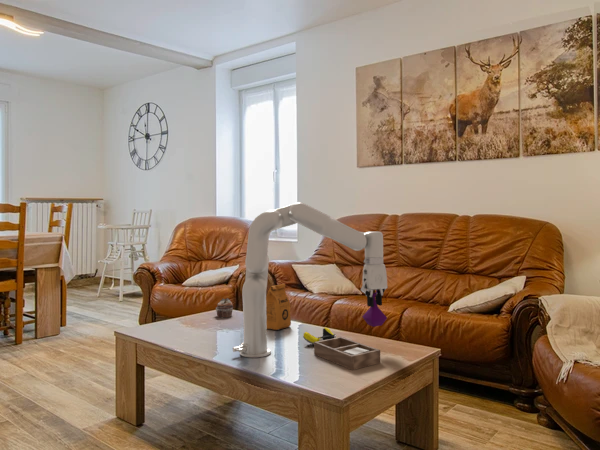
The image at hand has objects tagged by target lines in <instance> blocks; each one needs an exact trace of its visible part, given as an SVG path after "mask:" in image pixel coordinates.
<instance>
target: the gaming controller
mask: <svg viewBox="0 0 600 450" xmlns="http://www.w3.org/2000/svg"><path fill="white" fill-rule="evenodd" d="M302 337H303V339H304V341H306V342H307V343H308V344H311V345H313V346H314V342H317V341H323V340H328V339H333V338H337V334H335V333H333V332H332V330H330V328H328V327H323V328H322V336H318V337H316V336H314V335H312V334H311V333H309V332H307V331H305V332H304V333H303V335H302Z"/></svg>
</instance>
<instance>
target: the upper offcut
mask: <svg viewBox="0 0 600 450" xmlns="http://www.w3.org/2000/svg"><path fill="white" fill-rule="evenodd" d="M343 352H345V353H347V354H350V355H356V354H361V353H365V352H369V350H365V349H362V348H358V347H357V348H353V349H350V350H346V351H343Z"/></svg>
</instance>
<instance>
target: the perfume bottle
mask: <svg viewBox="0 0 600 450" xmlns="http://www.w3.org/2000/svg"><path fill="white" fill-rule="evenodd" d="M369 293H370V291H369ZM376 295H377V293H376V290H373V294H372V297H373V301H374V306H373V307H370V306H369V308H368V310H366V311H365V313H364V314H363V315H362V318H363V320H364V321H365V323H366V324H367V325H369V326H371V327H379V326H383V325H384V323H385V321H387V319H388V317H387V316H386V315H385V313H384V312H383V311H382V310H381V308H379V305H377V303H376Z"/></svg>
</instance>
